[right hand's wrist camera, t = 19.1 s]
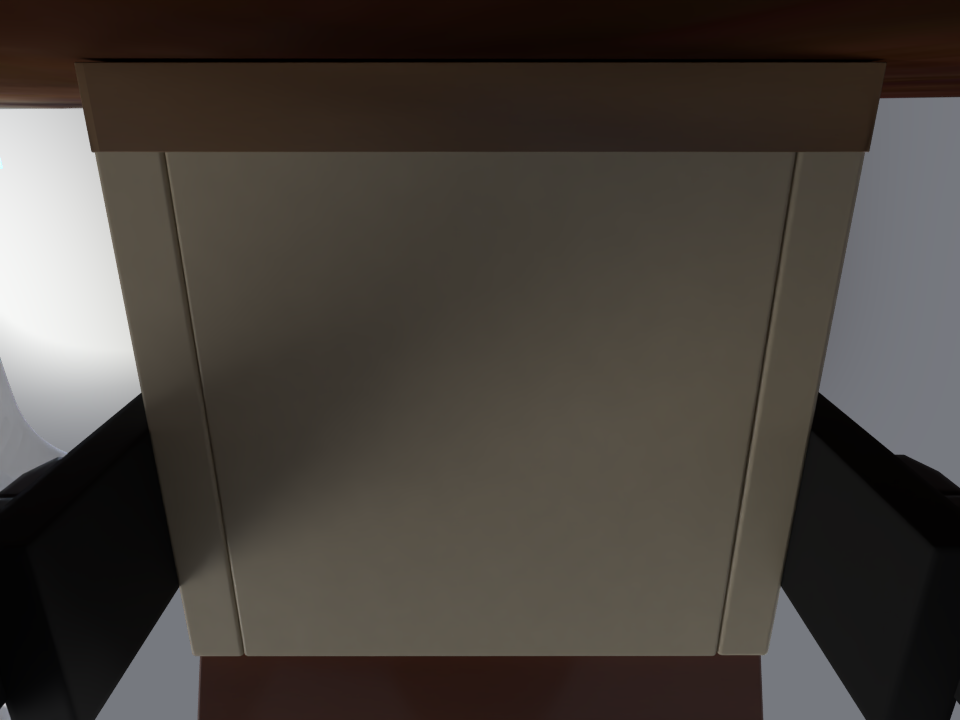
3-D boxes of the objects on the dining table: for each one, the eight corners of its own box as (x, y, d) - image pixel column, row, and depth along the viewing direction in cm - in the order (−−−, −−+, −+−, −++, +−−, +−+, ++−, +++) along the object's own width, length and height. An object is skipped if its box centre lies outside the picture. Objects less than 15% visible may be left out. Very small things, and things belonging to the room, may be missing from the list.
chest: (636, 95, 20) (615, 369, 23) (323, 95, 20) (344, 369, 23) (886, 62, 8) (770, 658, 11) (74, 62, 8) (190, 658, 11)
